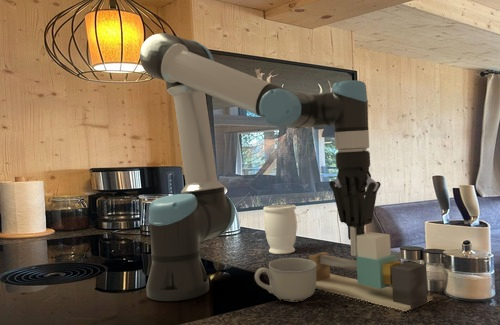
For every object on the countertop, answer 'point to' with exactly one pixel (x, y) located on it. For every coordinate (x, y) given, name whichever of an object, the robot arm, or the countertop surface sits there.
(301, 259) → the teacup
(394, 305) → the rail
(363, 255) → the sleeve
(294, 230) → the jar
